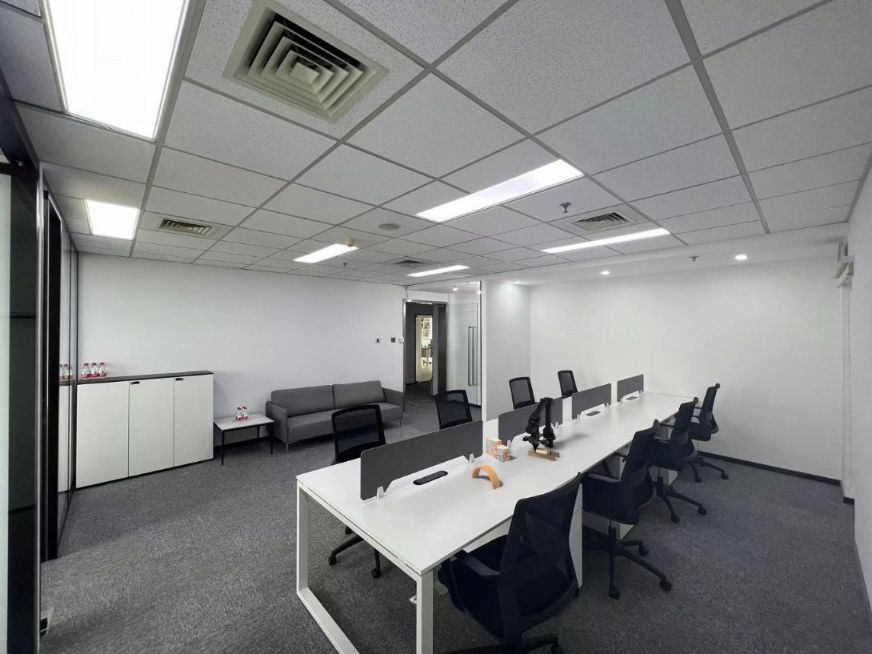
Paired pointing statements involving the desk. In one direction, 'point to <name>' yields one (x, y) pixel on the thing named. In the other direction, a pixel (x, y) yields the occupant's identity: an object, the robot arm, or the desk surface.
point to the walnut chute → (544, 455)
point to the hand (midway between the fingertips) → (535, 451)
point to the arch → (490, 473)
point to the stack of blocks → (497, 449)
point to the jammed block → (543, 451)
